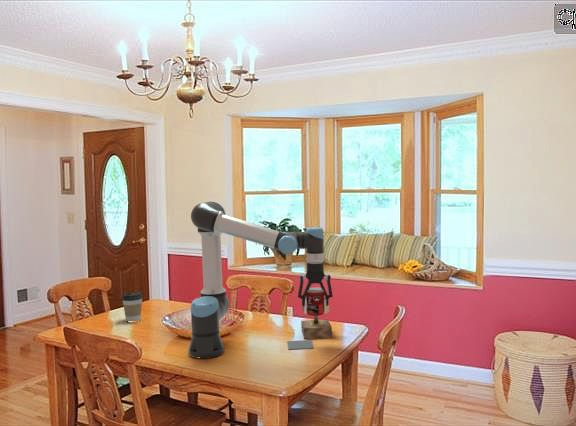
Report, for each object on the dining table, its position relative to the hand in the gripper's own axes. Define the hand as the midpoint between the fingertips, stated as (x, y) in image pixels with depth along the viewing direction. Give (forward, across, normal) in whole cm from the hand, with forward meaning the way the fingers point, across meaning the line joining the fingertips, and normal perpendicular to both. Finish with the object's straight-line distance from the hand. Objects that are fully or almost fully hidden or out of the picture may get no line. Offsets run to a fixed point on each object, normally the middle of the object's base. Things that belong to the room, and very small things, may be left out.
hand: (315, 313), depth 223 cm
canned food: (0, 0, 0) cm, 0 cm away
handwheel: (+9, +2, +15) cm, 17 cm away
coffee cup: (+17, -92, +54) cm, 108 cm away
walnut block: (+14, +2, +15) cm, 21 cm away
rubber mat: (+14, -7, 0) cm, 16 cm away
